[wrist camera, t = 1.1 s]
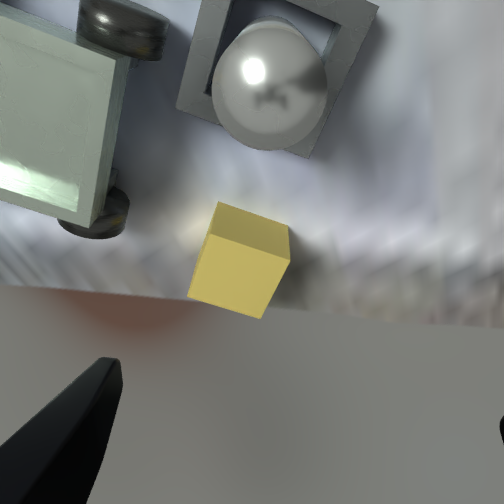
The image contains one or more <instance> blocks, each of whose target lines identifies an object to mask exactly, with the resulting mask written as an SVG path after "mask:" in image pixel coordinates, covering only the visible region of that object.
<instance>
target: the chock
mask: <svg viewBox="0 0 504 504" xmlns="http://www.w3.org/2000/svg"><path fill="white" fill-rule="evenodd" d="M290 261H291V260H290V247H289V234H288V226H287V225H284V224H282V223H279V222H276V221H273V220H270V219H267V218H264V217H262V216H259V215H256V214H253V213H250V212H247V211H244V210H241V209H239V208H236V207H233V206H230V205H227V204H224V203H221V202H219V201H218V203H217V206H216V209H215V211H214V214H213V217H212V220H211V223H210V226H209V228H208V231H207V234H206V237H205V240H204V242H203V245H202V248H201V251H200V254H199V256H198V259H197V263H196V266H195V270H194V274H193V277H192V281H191V284H190V288H189V292H188V295H187V297H190V298H193V299H196V300H199V301H203V302H206V303H209V304H213V305H216V306H219V307H223V308H226V309H229V310H232V311H236V312H239V313H242V314H246V315H249V316H252V317H255V318H259V319H260V318H261V316H262V315H263V313H264V311H265V309H266V307H267V305H268V303H269V301H270V299H271V297H272V295H273V293H274V292H275V290H276V288H277V286H278V284H279V282H280V280H281V278H282V276H283V274H284V272H285V270H286V268H287V266H288V264H289V262H290Z"/></svg>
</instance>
